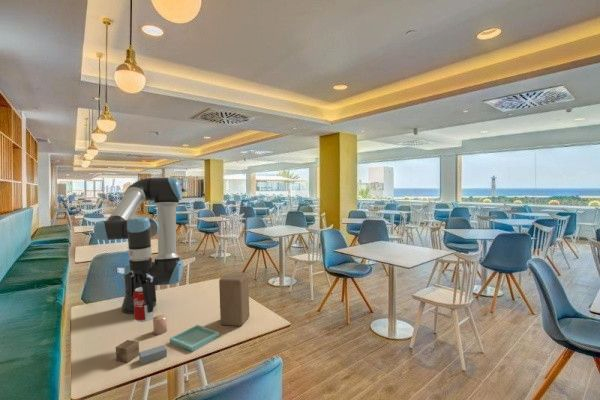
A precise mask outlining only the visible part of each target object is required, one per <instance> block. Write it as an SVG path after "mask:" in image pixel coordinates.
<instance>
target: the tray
mask: <svg viewBox="0 0 600 400" xmlns="http://www.w3.org/2000/svg"><path fill="white" fill-rule="evenodd" d="M218 338H220V332H219V331H216V330H213V329H211V328H208V327H205V326H202V325H199V324H196V325H194V326H192V327H190V328H188V329H186V330H183V331H182V332H179V333H177V334H175V335H173V336H171V337H169V344H172V345H174V346H177V347H178V348H181V349H183V350H186V351H188V352H190V353H193V352H195V351H196V350H199V349H200V348H202V347H204V346H206V345H208V344H209V343H211V342H212V341H215V340H217V339H218Z"/></svg>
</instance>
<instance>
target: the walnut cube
mask: <svg viewBox="0 0 600 400" xmlns="http://www.w3.org/2000/svg"><path fill="white" fill-rule="evenodd" d="M139 352H140V345H139V341H138V340H137V341H135V340H131V339H130V340H129V339H127V340H125V341H123V342H122V343H120V344H118V345H117V346H115V356H116V357H115V358H116V362H119V361H120V363H121V362H122V363H125V364H129V363H130V362H131V361H133V360H135V359H136V358H137V357H139Z"/></svg>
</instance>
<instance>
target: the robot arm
mask: <svg viewBox="0 0 600 400" xmlns="http://www.w3.org/2000/svg"><path fill="white" fill-rule="evenodd" d="M182 191H183V190H182V186H181V182H180V180H179V179H178V178H176V177H145V178H142V179H140V180H137V181H135V182H133V183H132V184H130V185H129V186H128V187H127V188H126V189H125V191H124V192H123V198H122V199H121V200H120V202H119V203H118V204H117V206H115V208H114V210H112V212H111V214H110V215H109V217H108V218H107V220H99V221H96V222H95V224H94V226H93V234H94V235H93V236H94V238H95V239H96V240H99V241H113V240H127V243H128V244H127V245H128V252H127V253H128V259H129V261H128V263H126V264H125V265H124V267H123V268H124V269H123V271H124V272H123V275H124V276H123V278H124V280H123V281H124V294H125V295H124V297H123V300H122V305H121V312H123V313H124V314H125V313H126V314H134V300H133V293H134V292H135V289H136V288H139V287H142V290H143V294H144V298H145V302H146V303H145V304H144V308H145V323H146V322H150V321H151V320H152V321H153V318H154V307H156V306H157V293H156V286H165V285H166V286H167V285H169V286H170V285H176V284H179V283H180V282H181V279H182V276H183V272H184V261H183V260H182V259H181V258H180V255H179V254H178V253H177V213H176V212H177V209H176V208H177V207H178V205H179V203H180V201H182V200H183V192H182ZM148 201H151V202H153V203H154V205H155V206H156V207H157V220H156V219H154V218H152V217H147V216H137V217H135V216H134V215H135V213H136V211H137V210H138V208H139V206H140V205H142V204H143V203H144V202H148ZM156 234H157V255H156V256H155V257H154V261H153V259H152V257H153V254H152V253H153V252H152V242H151V240H152V239H151V238H152V237H153V236H156Z"/></svg>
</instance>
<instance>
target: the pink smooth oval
mask: <svg viewBox="0 0 600 400" xmlns="http://www.w3.org/2000/svg"><path fill="white" fill-rule="evenodd" d="M152 325H153V334H154V335H156V336H158V335H163V334H165V333H167V332H168V328H167V327H168V323H167V315H165V314H160V315H156V316H153V319H152Z"/></svg>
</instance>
